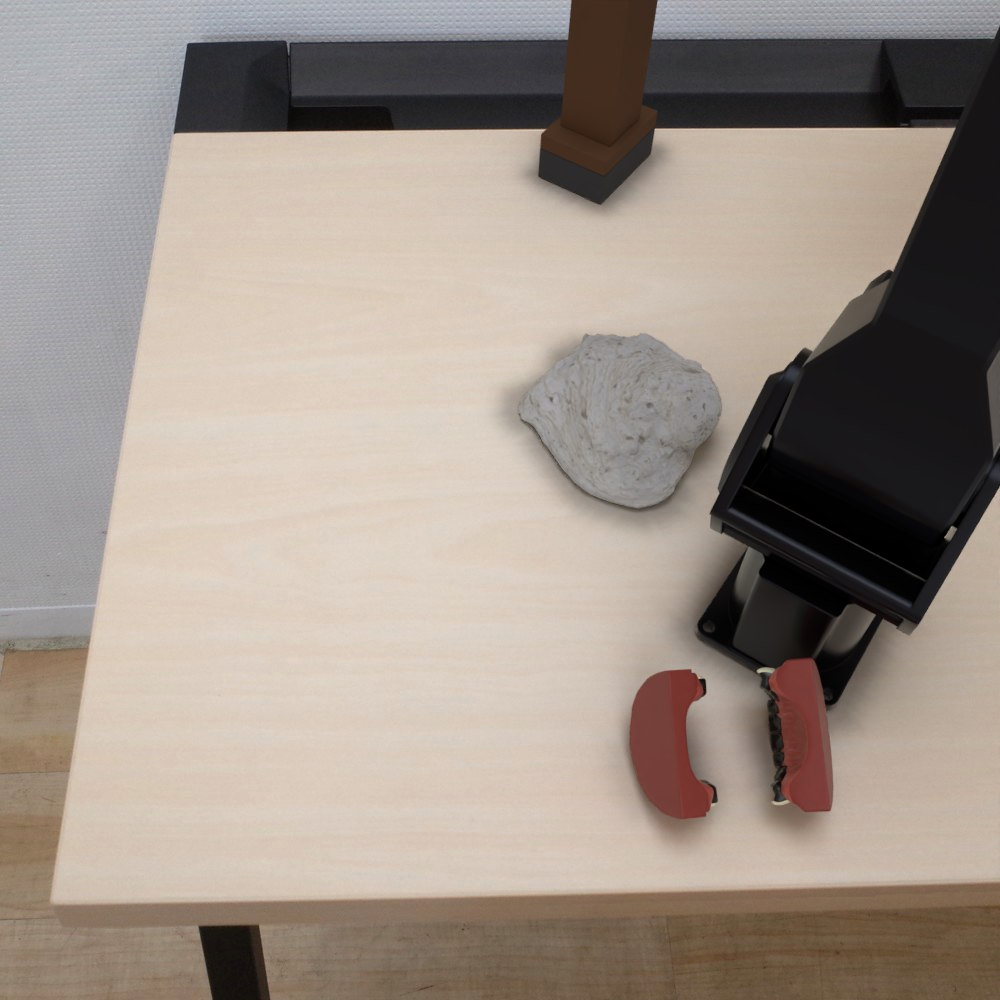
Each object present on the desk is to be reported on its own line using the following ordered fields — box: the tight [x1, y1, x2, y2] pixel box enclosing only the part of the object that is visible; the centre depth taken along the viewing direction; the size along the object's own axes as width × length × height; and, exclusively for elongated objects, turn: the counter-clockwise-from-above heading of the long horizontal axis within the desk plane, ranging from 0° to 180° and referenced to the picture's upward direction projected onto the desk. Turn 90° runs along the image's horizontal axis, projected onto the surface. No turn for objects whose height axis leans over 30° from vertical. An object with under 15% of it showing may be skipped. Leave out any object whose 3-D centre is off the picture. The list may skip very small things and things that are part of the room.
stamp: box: [537, 0, 659, 205], centre depth 61 cm, size 6×4×13 cm
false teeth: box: [628, 658, 834, 820], centre depth 42 cm, size 6×4×8 cm
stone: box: [517, 332, 723, 510], centre depth 53 cm, size 10×5×10 cm
